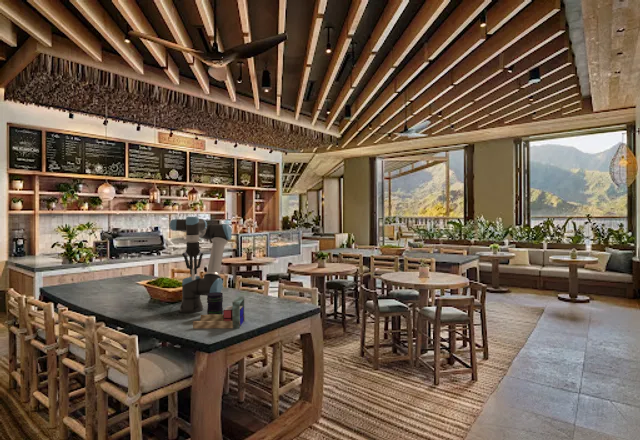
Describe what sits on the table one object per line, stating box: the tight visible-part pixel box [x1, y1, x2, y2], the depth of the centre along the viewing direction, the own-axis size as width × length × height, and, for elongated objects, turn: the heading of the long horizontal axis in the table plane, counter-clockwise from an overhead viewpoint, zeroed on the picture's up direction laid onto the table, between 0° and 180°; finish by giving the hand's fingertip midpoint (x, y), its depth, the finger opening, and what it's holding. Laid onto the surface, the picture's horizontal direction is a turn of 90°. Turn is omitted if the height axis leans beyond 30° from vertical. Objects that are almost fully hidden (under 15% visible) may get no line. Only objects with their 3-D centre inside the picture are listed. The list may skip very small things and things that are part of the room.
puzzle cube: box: [223, 305, 244, 327], centre depth 230 cm, size 10×10×10 cm
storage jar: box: [206, 292, 224, 315], centre depth 246 cm, size 10×10×15 cm
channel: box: [192, 296, 245, 329], centre depth 229 cm, size 27×15×15 cm, turn 90°
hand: (193, 279), depth 236 cm, fingers closed
